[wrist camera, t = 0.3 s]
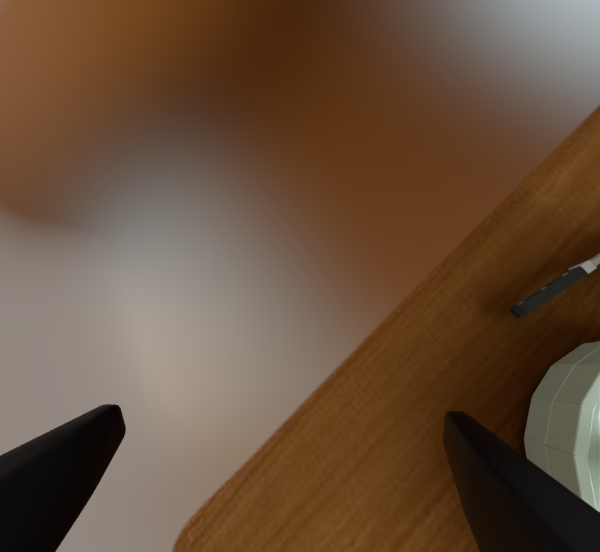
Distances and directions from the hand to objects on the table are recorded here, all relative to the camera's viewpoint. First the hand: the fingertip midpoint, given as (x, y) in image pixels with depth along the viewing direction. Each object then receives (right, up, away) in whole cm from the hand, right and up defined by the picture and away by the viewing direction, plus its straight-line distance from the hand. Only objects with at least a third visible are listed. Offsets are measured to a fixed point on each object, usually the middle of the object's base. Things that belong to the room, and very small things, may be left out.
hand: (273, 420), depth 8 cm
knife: (+21, +5, +13) cm, 25 cm away
